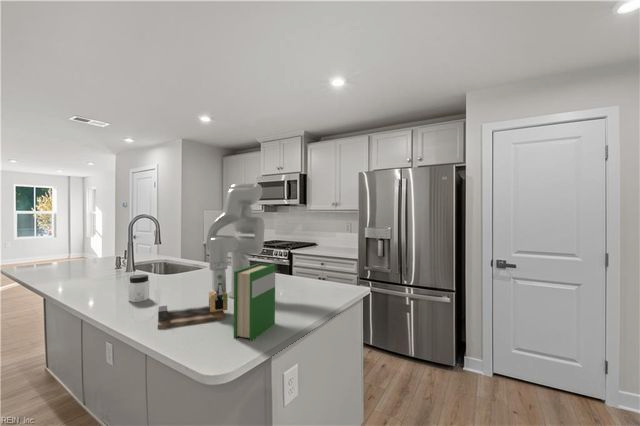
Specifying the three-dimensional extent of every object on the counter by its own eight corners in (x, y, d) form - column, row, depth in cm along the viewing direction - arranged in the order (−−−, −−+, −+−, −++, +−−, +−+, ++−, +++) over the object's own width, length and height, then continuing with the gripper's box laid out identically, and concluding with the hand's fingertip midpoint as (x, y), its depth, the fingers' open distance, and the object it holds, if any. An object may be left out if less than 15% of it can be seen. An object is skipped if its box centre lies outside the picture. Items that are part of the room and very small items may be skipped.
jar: (128, 303, 145) (128, 278, 145) (128, 299, 152) (128, 275, 152) (149, 300, 150) (150, 276, 150) (148, 296, 157) (148, 273, 157)
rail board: (220, 309, 139) (220, 297, 139) (225, 319, 126) (225, 306, 126) (159, 316, 128) (159, 303, 128) (157, 328, 115) (157, 314, 115)
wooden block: (225, 305, 136) (225, 290, 136) (227, 309, 130) (227, 293, 130) (208, 308, 133) (208, 292, 132) (210, 312, 127) (210, 295, 127)
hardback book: (251, 341, 105) (252, 273, 105) (233, 338, 108) (234, 271, 107) (274, 323, 122) (275, 264, 122) (258, 321, 124) (259, 263, 124)
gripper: (230, 268, 125) (230, 311, 125) (224, 261, 141) (224, 300, 141) (211, 270, 122) (211, 314, 122) (207, 263, 137) (207, 302, 138)
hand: (218, 306), depth 131 cm, fingers closed on wooden block, 6 cm apart
